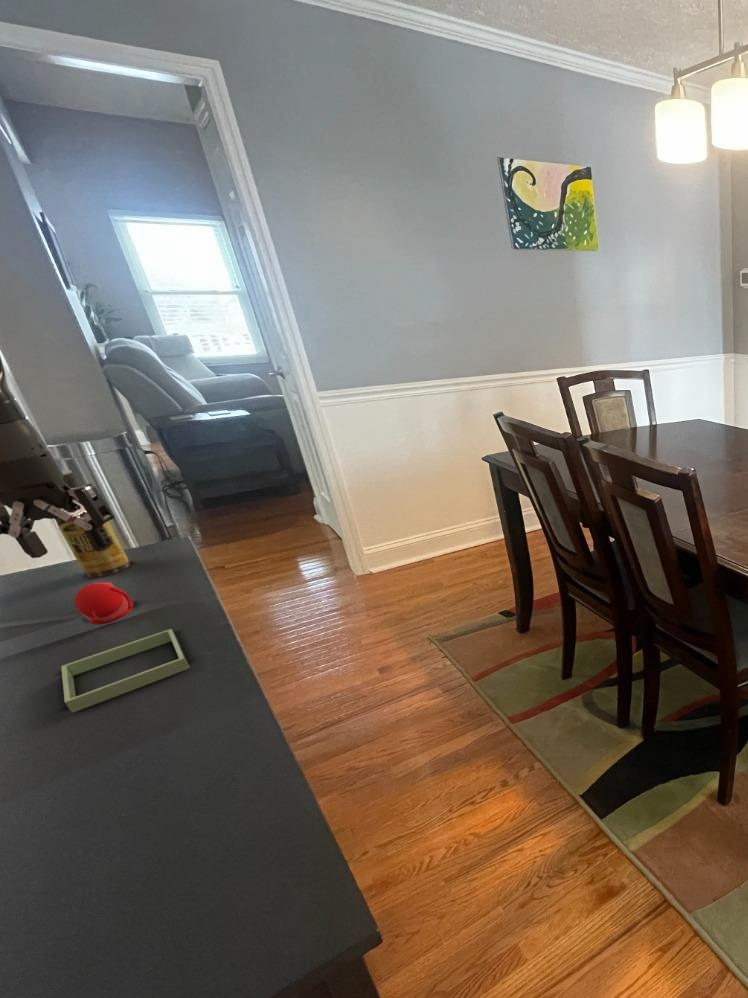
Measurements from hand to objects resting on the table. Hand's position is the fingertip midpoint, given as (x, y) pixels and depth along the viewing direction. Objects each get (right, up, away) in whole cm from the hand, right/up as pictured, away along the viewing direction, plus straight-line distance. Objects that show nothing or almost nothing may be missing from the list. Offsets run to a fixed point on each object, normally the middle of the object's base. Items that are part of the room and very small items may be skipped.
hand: (72, 552), depth 94 cm
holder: (+18, -17, -9) cm, 27 cm away
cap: (+1, -11, +5) cm, 12 cm away
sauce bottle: (-15, -4, +20) cm, 25 cm away
